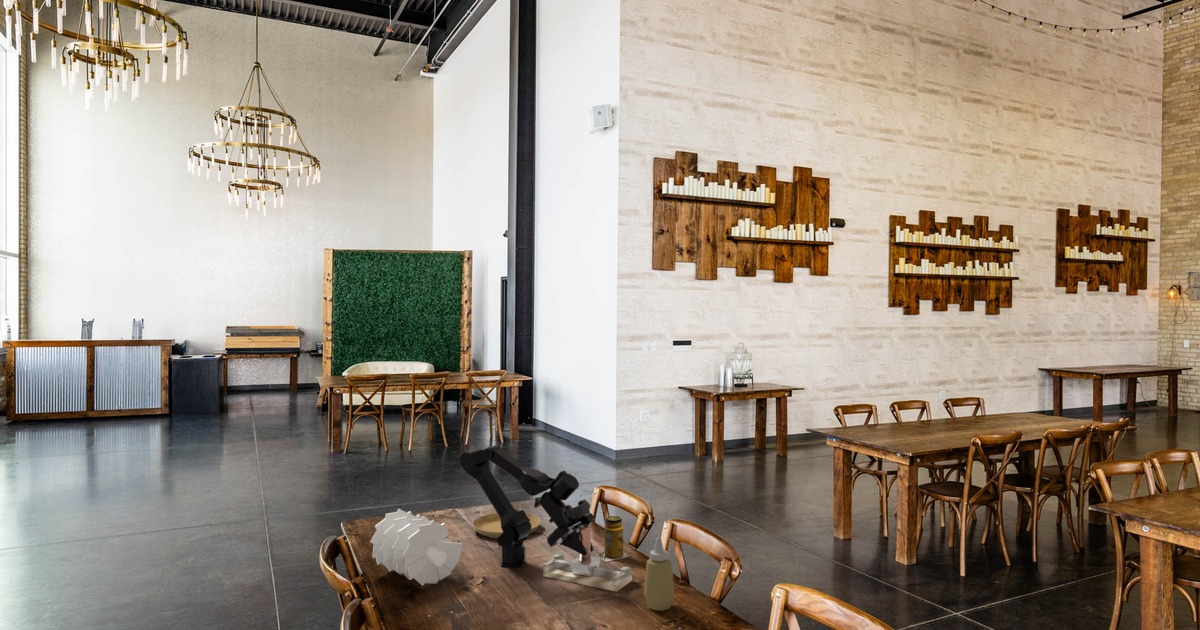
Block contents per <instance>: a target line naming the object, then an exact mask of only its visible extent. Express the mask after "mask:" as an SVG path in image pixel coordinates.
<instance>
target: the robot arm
mask: <svg viewBox="0 0 1200 630" xmlns="http://www.w3.org/2000/svg"><path fill="white" fill-rule="evenodd" d="M490 462H492V463H494V464H495V465H496V466H497V467H499V468H500V469H501V470H503V471H504V472H505V473H507V474H508V475H510V477H513V478H514V479H516V481H517V482H518V483H519V485H520V488H522V489H523V491H524V492H526V493H527V495H528V496H531V497H534V496H537V495H540V494H542V495H540V496H537V497H534V505H533V507H534V508H535V509H536V508H539V507H542V508H543V510H544V511H545V513H546V514H547V515H548V517H549V520H548V521H549V523H550V524H552V523H553V524H555V526H556V528H554V530H553V531H552V532H551V533H550V534H549V535H548V536H547V537H546V542H547V545H549V547H550V548H553V547H555V546H556V545H557V544H558V541H559V540H561V542H560V543H559V546H564V547H567V548H569V549H571V550H573V551H575V552H576V553H578V554H579V555H580V554H582V555H584V556H585V555H587V552H586V550H585V548H584V547H583V545H582V543H581V542H580V537H579V528H580V527H590V525H591V524H592V522H593V521H595V519H596V517H595V516H594V515H593V513H591V512H590V509H591V504H590V503H589V502H588V501H587V500H586V499H582V500H579V501H578V502H577V505H576V506H574V507H572V506H571V504H565V503H564V501H567V500H568V498H570V496H571V495H573V494H574V493H575V491H577V489H578V488H579V486H580V484H579V480H578V478H576V476H574V475H573V474H571V473H568V472H567V471H566V470H561V471H560V472H559V473H558V474H557V476H556V477H555V478H554V477H550V476H549V475H548V474H547V473H545V472H543V471H541V470H538V469H534V468H531V467H528V466H527V465H525V464H523V463H522V462H520V461H519V460H518V459H517V458H515V457H513V456H512V455H510V454H509V453H508V452H506V451H505V450H503V449H502V447H500V446H499V445H493V446H488V447H486V448H483V449H481V448H476V449H471V450H468V451H465V452H463V453H461V455H460V458H459V465H460V467H461V469H462V470H463V471H464V472H465V473H466V475H468V476H469V477H471V478H473V479H474V480H476V482H477V483H478V485H479V486H480V488H481V489H482V492H483V493H484V494H485V496H486V498H487V499H488V500H489V502H490V503H491V505H492V507H493V508H494V510H495V511H496V512H495V513H498V515H499V516H500V519H501V528H502V531H503V533H502V534H501V535H500V536H499V537H498V538H496V542H497V544H498V547H501V560H502V561H501V563H500V566H501V567H522V566H523V565H524V563H525V562H526V558H527V557H526V556H527V555H526V546H525V542H526V541H527V540H528V539H529V538H528V537H529V536H530V535H531V534H530V532H531V527H532V526H531V523H530V522H529V521H530V519H529V518H528V517H527V516H526V514H525V513H526V512H525V510H524V509H520V510H517V509H515V508H514V505H512V504H511V502H510V500H509V498H508V497H507V495H506V494H505V493H504V491H503V489H502V487H501V486H500V484H499V482H498V481H497V480H496V478H495V477H494V475H493V474H492V472H491V470H490ZM548 490H549V491H548ZM592 544H593V543H592V542H591V553H592V552H593V551H594V547H593V545H592Z"/></svg>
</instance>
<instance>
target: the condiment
mask: <svg viewBox="0 0 1200 630" xmlns="http://www.w3.org/2000/svg"><path fill="white" fill-rule="evenodd" d="M604 521H605V523H604V524H605V526H604V528H603V536H604V538H603V541H604V543H603V544H604V545H603V547H604V549H603V550H604V552H599V553H595V554H594V555H593V556H594V557H599V558H600V560H602V561H604V562H606V563H608V562H610V561H615V560H620V559H624V558H629V555H628V554H625V553H624V526H623V519H622V517H621V516H617V515H611V516H610V515H609V516H606V517H605V519H604ZM604 553H605V557H604V558H603V557H601V556H603V555H602V554H604ZM606 557H607V558H609V559H606ZM604 559H605V560H604Z"/></svg>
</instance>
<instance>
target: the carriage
mask: <svg viewBox="0 0 1200 630" xmlns="http://www.w3.org/2000/svg"><path fill="white" fill-rule="evenodd" d="M579 537H580V542H581V543H582V545H583V547H584V548H585V550H586V552H587V555H585V556H584V555H582V554H580V553H579V556H577V557H576V558H574V559H573V560H570V561H569V562H570V567H572V573H575V574H580V575H585V576H592V568H593V567H600V565H599V564H601V559H600V558H599V557H597V556H594V555H591V554H592V552H591V543H592V540H591V527H590V526H588V527H580V528H579Z"/></svg>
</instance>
